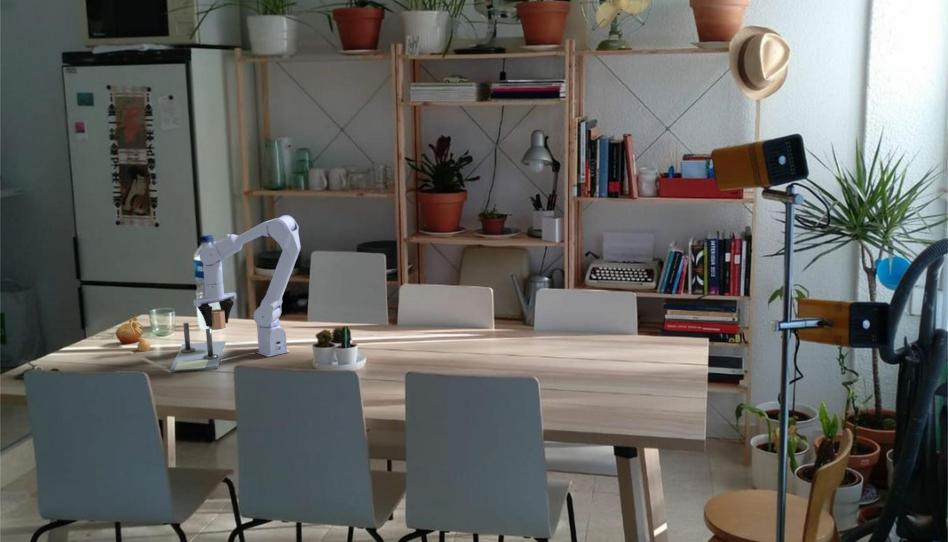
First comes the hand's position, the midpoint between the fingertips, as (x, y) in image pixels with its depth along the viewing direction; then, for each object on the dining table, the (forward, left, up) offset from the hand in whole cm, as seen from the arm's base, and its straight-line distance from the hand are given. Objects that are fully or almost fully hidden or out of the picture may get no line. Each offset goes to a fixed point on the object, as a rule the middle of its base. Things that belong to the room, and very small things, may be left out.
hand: (217, 324), depth 326 cm
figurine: (+17, +19, -9) cm, 27 cm away
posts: (-2, +8, -9) cm, 12 cm away
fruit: (+31, +17, -9) cm, 37 cm away
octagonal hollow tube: (0, 0, -1) cm, 1 cm away
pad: (-11, +15, -9) cm, 21 cm away
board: (-2, +8, -9) cm, 12 cm away
